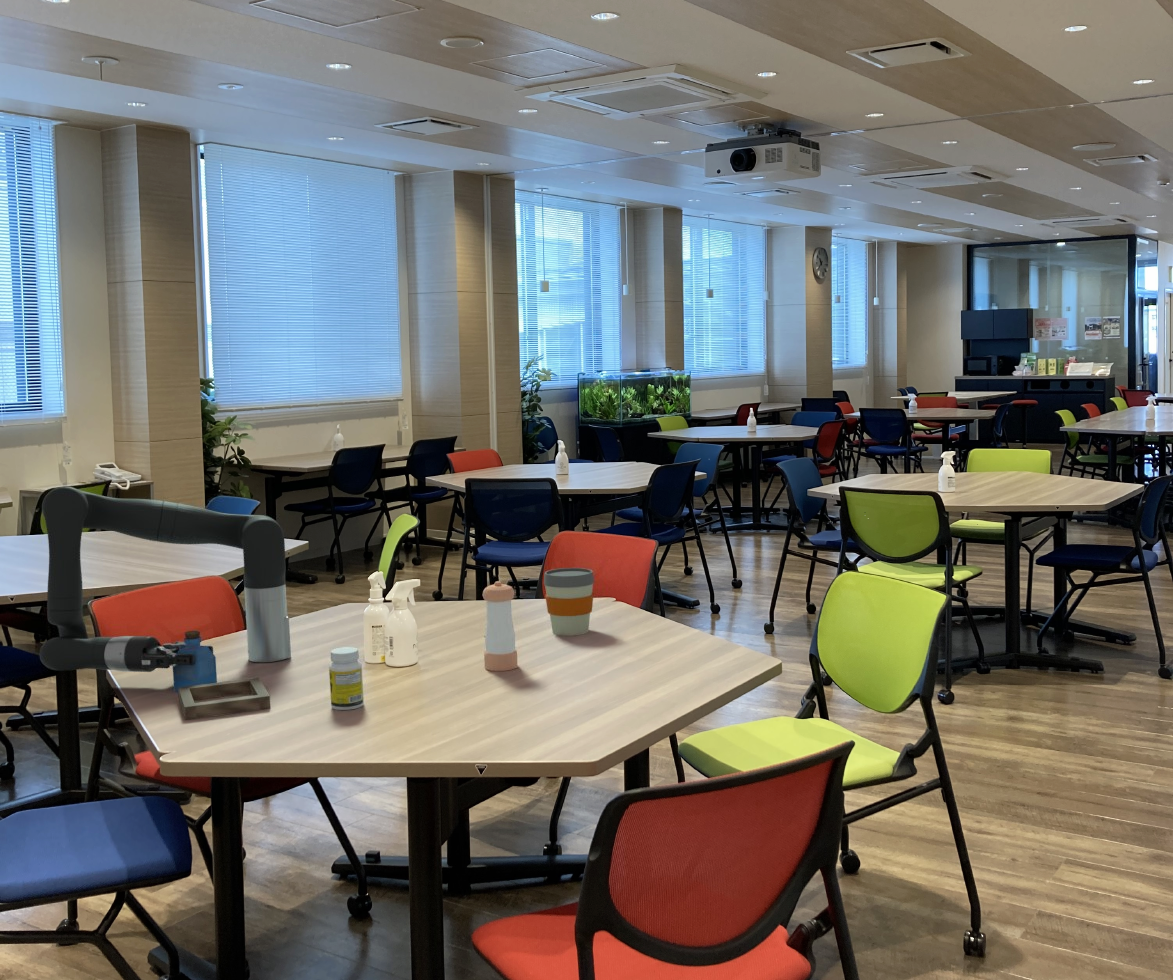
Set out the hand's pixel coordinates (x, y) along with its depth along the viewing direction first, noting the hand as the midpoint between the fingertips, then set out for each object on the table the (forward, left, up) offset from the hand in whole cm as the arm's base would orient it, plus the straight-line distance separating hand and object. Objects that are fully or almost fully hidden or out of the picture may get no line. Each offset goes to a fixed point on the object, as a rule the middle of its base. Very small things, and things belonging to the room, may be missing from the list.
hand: (203, 655), depth 249 cm
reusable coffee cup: (-88, -10, -7) cm, 89 cm away
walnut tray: (-2, +15, -7) cm, 16 cm away
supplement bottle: (-24, +29, -7) cm, 38 cm away
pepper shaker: (-61, +15, -7) cm, 63 cm away
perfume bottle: (+2, -1, -7) cm, 8 cm away
